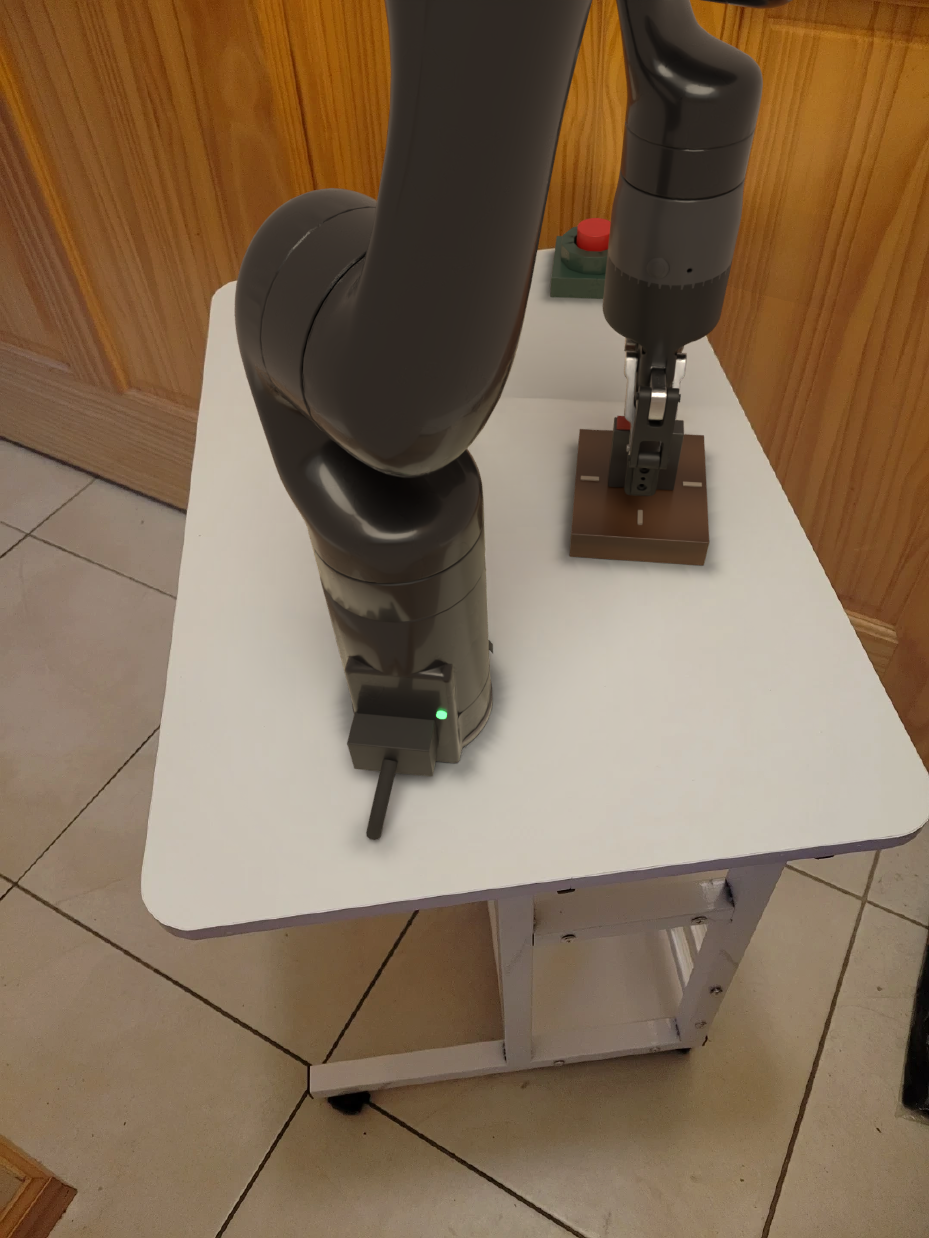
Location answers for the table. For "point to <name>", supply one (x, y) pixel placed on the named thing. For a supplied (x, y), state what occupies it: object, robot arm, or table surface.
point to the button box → (577, 269)
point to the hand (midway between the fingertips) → (639, 453)
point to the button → (593, 234)
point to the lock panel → (639, 509)
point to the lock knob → (620, 455)
